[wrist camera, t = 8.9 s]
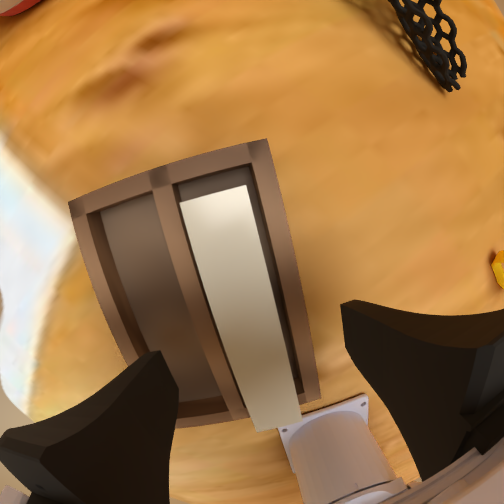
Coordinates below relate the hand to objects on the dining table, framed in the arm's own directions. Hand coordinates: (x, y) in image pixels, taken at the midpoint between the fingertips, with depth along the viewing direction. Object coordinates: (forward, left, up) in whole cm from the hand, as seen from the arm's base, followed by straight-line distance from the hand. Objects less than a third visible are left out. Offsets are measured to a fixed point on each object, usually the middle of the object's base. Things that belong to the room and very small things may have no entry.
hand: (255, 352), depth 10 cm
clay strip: (0, 0, -6) cm, 6 cm away
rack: (0, +3, -7) cm, 8 cm away
